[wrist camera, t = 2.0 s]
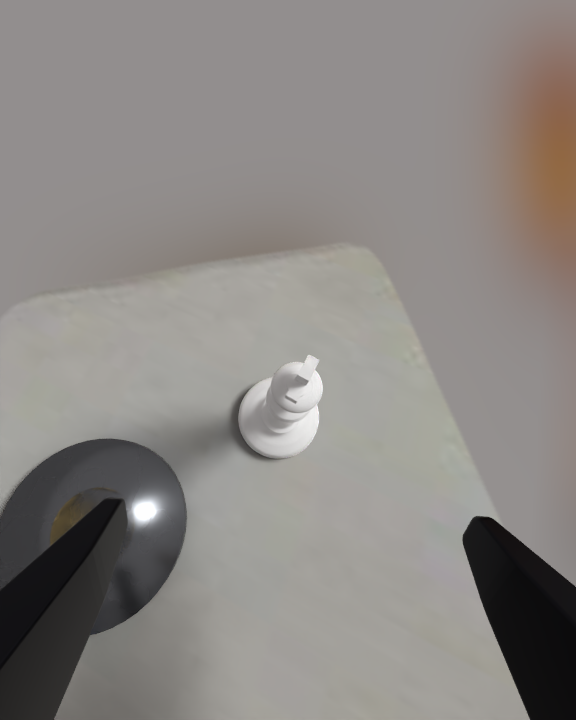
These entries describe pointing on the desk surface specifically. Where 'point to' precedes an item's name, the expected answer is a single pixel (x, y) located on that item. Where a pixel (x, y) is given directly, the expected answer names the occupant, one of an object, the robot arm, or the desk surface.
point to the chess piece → (282, 410)
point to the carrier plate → (79, 496)
